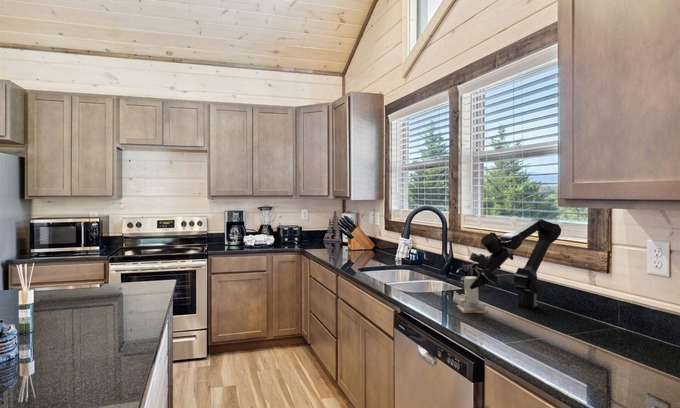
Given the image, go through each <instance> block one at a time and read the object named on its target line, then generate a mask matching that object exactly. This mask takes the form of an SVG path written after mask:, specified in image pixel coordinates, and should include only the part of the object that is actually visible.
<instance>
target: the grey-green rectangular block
mask: <svg viewBox="0 0 680 408" xmlns="http://www.w3.org/2000/svg"><path fill="white" fill-rule="evenodd" d="M476 278H477V277H476V276H471V275H470V276H469V275H468V276H464V281H463V289H464V297H463V299H464V303H478V299H479V287H477V288H474V289H471V288H470V286H471V285H472V283H473V282H474V281H475V280H476Z"/></svg>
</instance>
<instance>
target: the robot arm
mask: <svg viewBox="0 0 680 408" xmlns="http://www.w3.org/2000/svg"><path fill="white" fill-rule="evenodd" d="M536 232H537V237H538V240H537V242H536V243H535V246H534V248H533V249H532V252H531V254H530V255H529V257H528V260H527V261H526V263H525V265H524V267H518V268H517V269H516V272H515V274H513V276H514V278H513V284H514V287H515V290H516V291H518V293H517V305H516V306H517V307H524V308H530V309H533V308H535V307H538V306H539V304H537V294H540V293H541V289H542V287H541V286H540V285H539V283H538V282H537V281H538V274H537V272H538V270H539V267H540V265H541V263H542V262H543V259H544V258H545V256H546V253H547V251H548V249H549V247H550V245H551V244H552V243H554V242H555V241H556V242H557V240H558V239H559V237H560V236H561V233H562V227H560V225H559V224H558V223H552V222H550V221H547V220H545V219H543V218H536V217H535V218H532V219H531V220H530V221H529V222H527V223H526V224H524V225H522V226H520V228H518V229H515V231H512V232H507V233H504V234H502V235H500V236H499V237H498V236H497V234H496V233H495V232H493V231H491V232H489V234H486V235H485V236H483V237H482V238H481V240H480V243H481V245H482V246H483V248H484V249H486V251H487V252H488V253H489V254H490V255H489V256H488V255H487V256H486V255H485V254H483V253H479V254H478V253H477V254H476V253H474V252H472V253H471V255H470V257H469V260H470V261H471V263H470V264H469V267H470V269H471V270H470V271H471V274H470V276H476V277H477V278H476V280H475V281H474V282H473V283H472V285H471V286H470V288H471V289H474V288H477V287H478V288H479V287H482V286H485V285H489V284H491V283H492V284H494V285H495V284H497V283H498V281H499V277H498V276H497V275H496V274H495V272H496V271H497V270H500V269H502V267H501V266H503V264H504V263H505V262H506V261H507V260H508V259H509V260H511V261H514V253H513V252H511V251H516V250H517V249H519V248H520V247H521V245H522V244H523V241H524V240H525V239H527V238H529V237H530V236H532V235H533V234H535V233H536ZM509 250H511V251H509Z"/></svg>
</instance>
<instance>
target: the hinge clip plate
mask: <svg viewBox="0 0 680 408" xmlns="http://www.w3.org/2000/svg"><path fill="white" fill-rule="evenodd" d="M456 308H457V309H458V310H459V311H460V312H461V313H463V314H475V313H476V314H479V313H480V314H485V313H487V314H488V312H489V310H488V309H486V303H480V299H479V298H478V303H464V298H463V299H458V304H456Z"/></svg>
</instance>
